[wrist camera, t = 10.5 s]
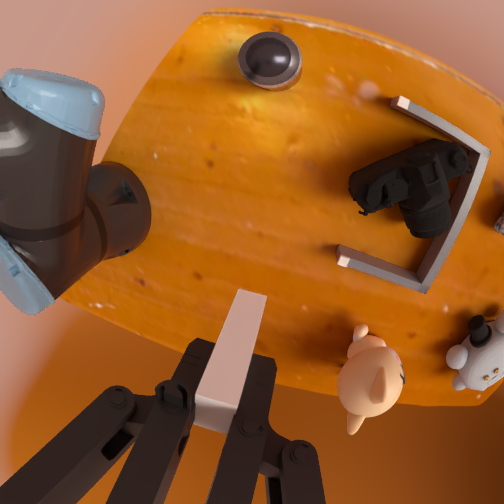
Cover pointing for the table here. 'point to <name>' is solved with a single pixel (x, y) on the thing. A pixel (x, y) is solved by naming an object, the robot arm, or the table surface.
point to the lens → (271, 61)
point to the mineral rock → (500, 225)
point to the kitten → (369, 378)
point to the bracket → (457, 205)
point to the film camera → (413, 185)
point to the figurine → (479, 354)
